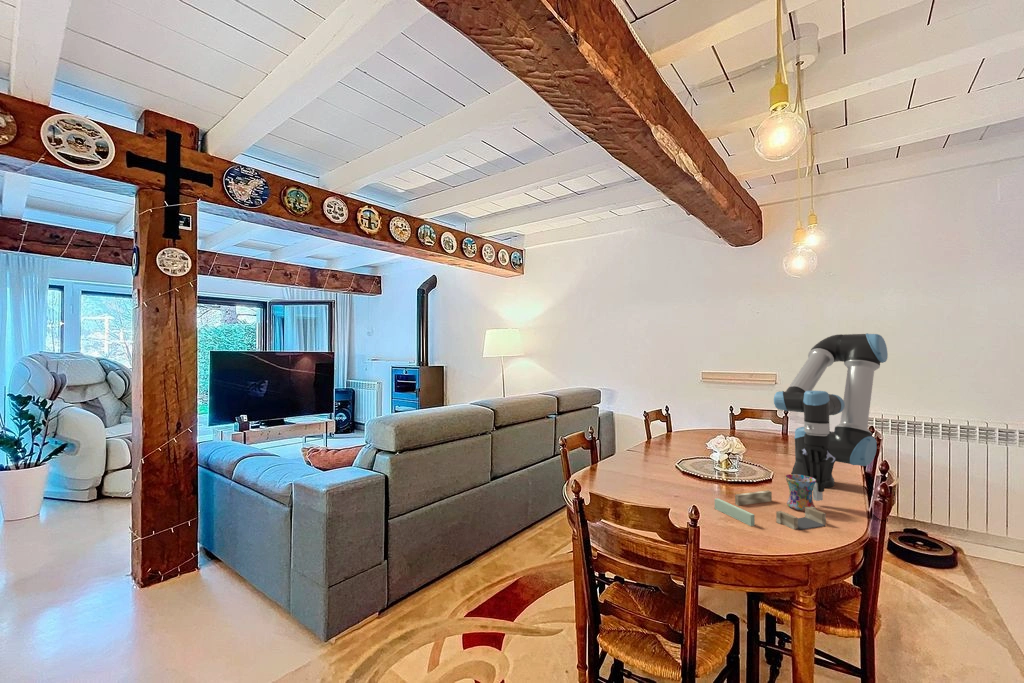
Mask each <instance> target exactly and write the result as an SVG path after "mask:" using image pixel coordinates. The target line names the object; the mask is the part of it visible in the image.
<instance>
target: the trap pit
mask: <svg viewBox="0 0 1024 683" xmlns="http://www.w3.org/2000/svg"><path fill="white" fill-rule="evenodd" d="M797 518H798V529H797V530H800V531H803V530H804V531H805V530H809V529H810V530H811V529H816V528H822V527H826V525H823V524H821V523H818V522H816V521H813V520H811V519H808V518H806V517H805V516H804V517H797Z"/></svg>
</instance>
